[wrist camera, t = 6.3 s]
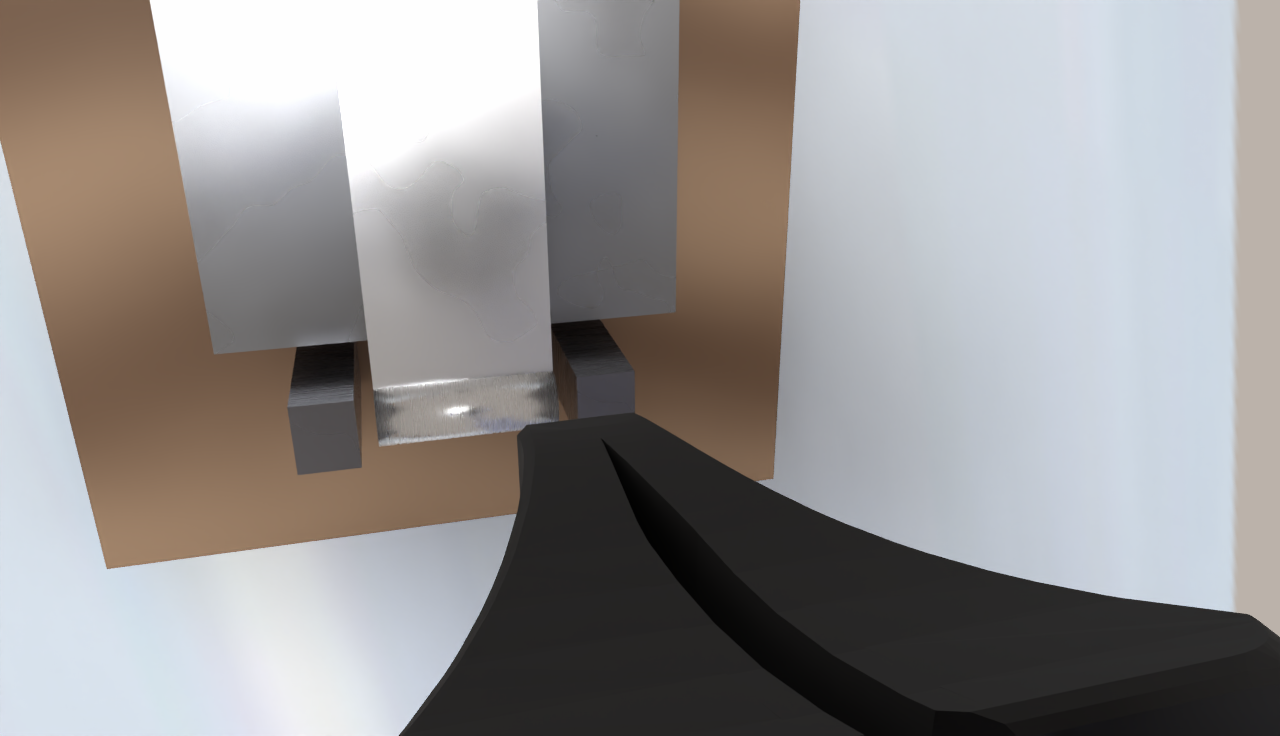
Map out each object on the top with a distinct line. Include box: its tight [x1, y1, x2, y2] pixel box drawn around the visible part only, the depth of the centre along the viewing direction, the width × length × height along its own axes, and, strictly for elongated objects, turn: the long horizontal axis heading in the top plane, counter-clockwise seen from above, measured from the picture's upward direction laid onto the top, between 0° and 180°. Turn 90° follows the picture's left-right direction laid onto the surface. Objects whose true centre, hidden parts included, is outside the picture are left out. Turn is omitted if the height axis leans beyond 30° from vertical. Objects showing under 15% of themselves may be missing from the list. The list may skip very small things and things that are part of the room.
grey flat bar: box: [328, 0, 559, 447], centre depth 15 cm, size 14×3×1 cm, turn 0°
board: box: [0, 0, 800, 569], centre depth 18 cm, size 20×14×2 cm
